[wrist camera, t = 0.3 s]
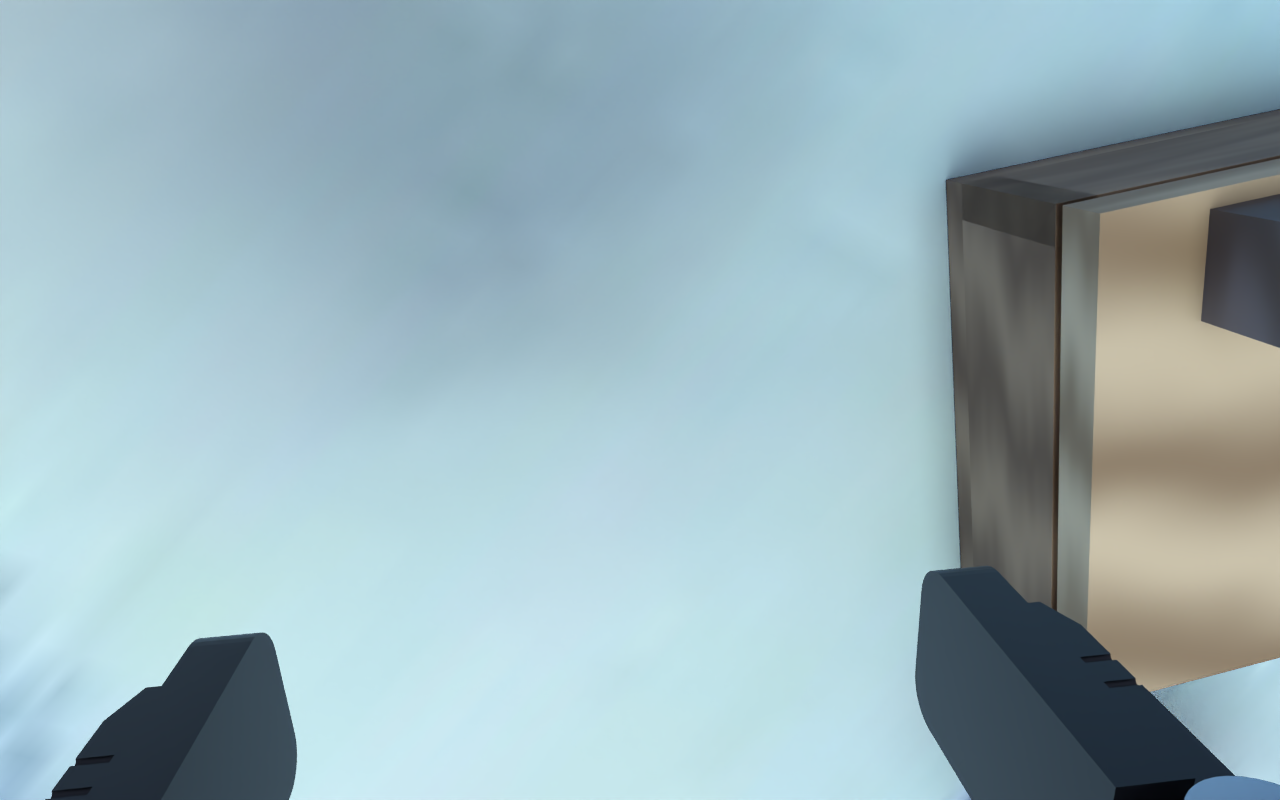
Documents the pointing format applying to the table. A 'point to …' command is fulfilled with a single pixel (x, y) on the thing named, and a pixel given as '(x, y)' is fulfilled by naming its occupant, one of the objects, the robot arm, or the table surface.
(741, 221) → the table surface
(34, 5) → the table surface
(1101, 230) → the beige cabinet door
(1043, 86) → the table surface
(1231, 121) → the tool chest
